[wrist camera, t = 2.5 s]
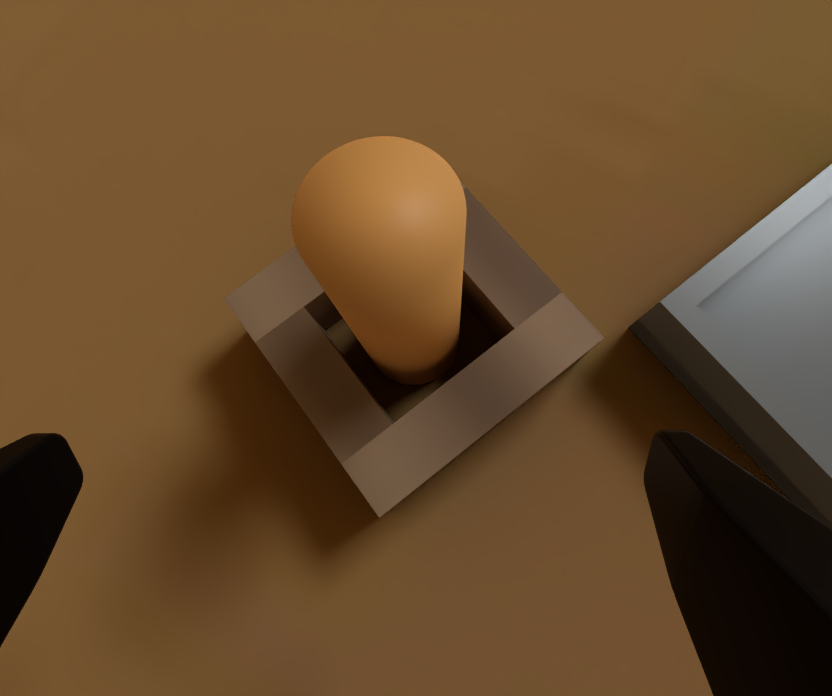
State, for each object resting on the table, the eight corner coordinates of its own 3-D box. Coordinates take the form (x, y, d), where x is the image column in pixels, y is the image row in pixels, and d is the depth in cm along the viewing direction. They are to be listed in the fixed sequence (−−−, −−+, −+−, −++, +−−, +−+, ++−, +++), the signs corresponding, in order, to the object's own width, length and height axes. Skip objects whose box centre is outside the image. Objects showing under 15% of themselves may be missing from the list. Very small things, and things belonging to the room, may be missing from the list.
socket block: (390, 510, 18) (379, 517, 15) (255, 323, 20) (223, 298, 17) (580, 358, 19) (604, 338, 16) (433, 193, 21) (430, 149, 18)
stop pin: (405, 403, 19) (358, 332, 10) (351, 333, 20) (258, 202, 10) (477, 347, 20) (503, 223, 10) (421, 280, 20) (395, 106, 11)
